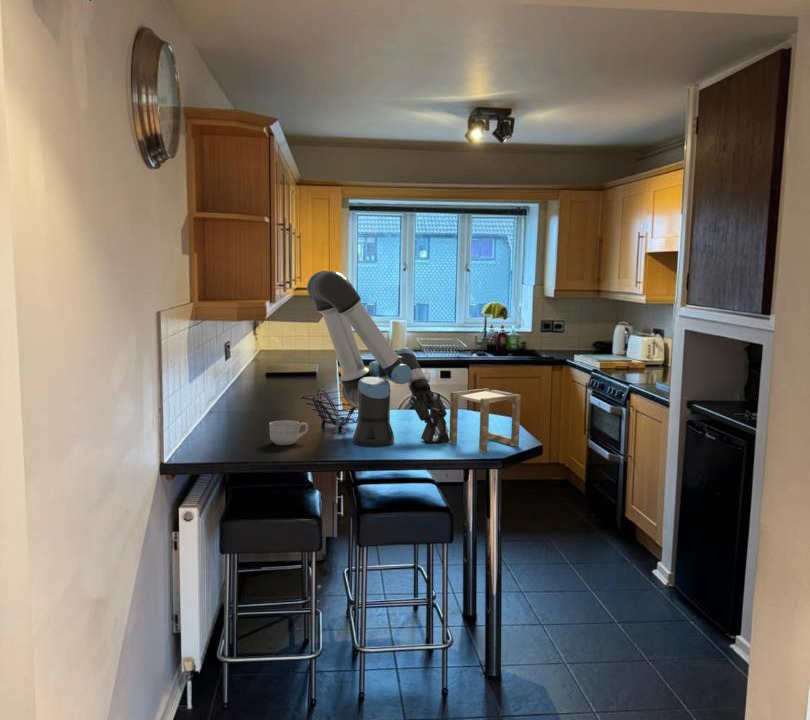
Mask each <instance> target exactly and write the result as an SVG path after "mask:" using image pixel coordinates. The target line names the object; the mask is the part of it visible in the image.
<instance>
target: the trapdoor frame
mask: <svg viewBox="0 0 810 720" xmlns="http://www.w3.org/2000/svg"><path fill="white" fill-rule="evenodd" d="M490 390H491V389H490V388H488V387H487V388H486V387H485V388H477V389H467V390H461V391H450V397H449V398H450V401H449V402H450V403H449V434H448V437H449V442H448V443H449V444H452V445H455V444H457V443H458V418H459V417H458V415H459V396H461V395H467V394H472V393H478V392H483V391H490ZM521 397H522V396H521V394H518V393H515V394H514V393H513V395H508V396H500V397H492V398H482V399H481V403H479V405H480V411H479V438H478V440H479V443H478V452H479V453H481V452H482V454H484V452H485V453H487V452H488V440H489V439H490V441H493V440H494V441H493V442H497V443H501V444H505V445H507V444H508V445H507V446H510V447H513V446H517V447H520V446H519V445H520V426H521V425H520V424H521V422H520V421H521V399H522V398H521ZM509 399H513V401H512V409H511V410H512V413H511V433H510V434H511V435H510V436H511V437H508V436H505V435H501V434H498V433H494V432H491V431H489V429H490V428H489V423H490V403H489V402H492V403H494V402H493V401H497V402H501V400H509ZM454 443H455V444H454Z"/></svg>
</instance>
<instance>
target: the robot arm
mask: <svg viewBox="0 0 810 720" xmlns="http://www.w3.org/2000/svg"><path fill="white" fill-rule="evenodd" d="M306 291H307V294H308V296H309V298H310V299H311V300H312V301H313V302H314V304H315V305H314V306H315V308H316V312H317V313H320V314H321V315H322V316H323V319H324V321H325V324H326V328H327V331H328V334H329V337H330V340H331V342H332V345H333V348H334V349H333V350H334V352H335V355H336V357H337V360H338V363H339V365H340V366H339V367H340V369H341V372H342V374H341V376H340V382H341V384H342V385H341V394H342V397H343V398H344V400H345V401H346V402H347V403H348V404H349V405H351V406H353V407H355V408H356V409H357V423H356V426H355V429H354V433H353V435H352V442H353V444H354V445H357V446H363V447H371V448H372V447H373V448H374V447H375V448H376V447H378V448H379V447H387V446H391V445H393V444H395V435H394V432H393V428H392V426H391V420H390V417H391V415H390V414H391V392H392V389H391V384H390V382H393V383H394V384H397V385H405V384H406V385H407V386H408V388H409V391H410V394H411V395H412V396H411V397H409V400H408V402H409V403H410V404H411V405H412V407H413V409H414V411H415V412H416V414H417V416H418V418H419V420H420V421H421V422H424V423H425V424H428V426H429V428H431V427H432V423H433V418H431V417H430V410H429V408H430V409H431V408H438V409H441V410H443V411H444V421H445V425H446V433H450V429H449V428H448V426H447V421H446V420H445V418H446V416H447V414H448V413H447V411H446V408H445V405H444V404H443V401H442V399H441V394H440V393H437V394H435V393H434V392H433V391H432V390H431V385H430V384H429V382H428V380H427V378H426V375H425V373H424V371H423V370H422V368H421V365H420V363H419V361H418V359H417V356H416V355H415V353H414V351H412V349H411V348H409V347H402V348H401V349H398V350H397V351H395V350H394V349H393V347H392V346H391V344H390V342H389V340H387V338H386V337H385V335H384V334H383V332H382V331H381V330H380V328H379V327H378V325H377V324H376V323H375V321H374V320H373V318H372V317H371V315H370V314H369V312H368V311H367V310H366V308H365V307H364V305H363V304H362V302H361V301H362V297H361V296H360V294H359V293H358V291H357V290H356V289H355V287H354V285H353V284H352V282H350V280H349V279H348V278H347V277H346V276H345V275H344V274H343V273H342V272H340V271H335V270H332V271H331V270H329V271H328V270H321V271H317V272H316V273H314V274H312V275H311V276H310V278H309V279H308V282H307V285H306ZM353 330H354V331H353ZM354 332H355V333H356V335H357V336H358V337H359V338H360V340H361V341H362V342H363V344H364V346H365V347H366V348H367V350H368V351H369V352H370V353H371V355H372V356H373V358H374V359H375V360H373V361H370V363H369V364H368V367H366V366H365V364H364V361H363V358H362V356H361V352H360V349H359V345H358V344H357V339H356V337H355V335H354ZM389 381H390V382H389ZM430 418H431V419H430ZM439 433H440V432H439V430H438V428H437V427H435V434H434V438H437V437H438V434H439Z"/></svg>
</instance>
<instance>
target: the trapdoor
mask: <svg viewBox="0 0 810 720" xmlns="http://www.w3.org/2000/svg"><path fill="white" fill-rule="evenodd" d="M508 395H514V393H513V392H507V391H502V390H498V389H490V391H483V392H478V393H472V394H467V395H459V397H460V398H459V399H460V400H461V399H462V400H466V401H471V402H473V403H479V404H481V399H482V398H492V397H500V396H508ZM501 401H503V402H509V403H510V402H513V399H509V400H501ZM501 401H500V402H501ZM496 402H498V401H493V402H489V404H491V403H496Z"/></svg>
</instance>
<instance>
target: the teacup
mask: <svg viewBox="0 0 810 720" xmlns="http://www.w3.org/2000/svg"><path fill="white" fill-rule="evenodd" d="M268 425H269V438H270V441H271V442H273V443H274V444H275V445H276V446H289V445H293V444H295V443H296V442H297V441H298V439H300V438H301V437H302V436H304V435H305V434H306V433H307V432H308V431H309V425H308V423H306V422H299V421H298V420H297V421H296V420H275V421H271V422H269V424H268ZM302 426H304V427H305V429H304V431H302V432H300V430H301V427H302Z"/></svg>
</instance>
